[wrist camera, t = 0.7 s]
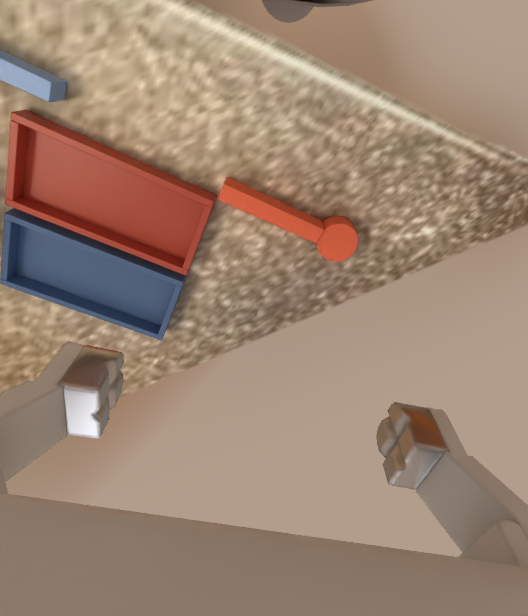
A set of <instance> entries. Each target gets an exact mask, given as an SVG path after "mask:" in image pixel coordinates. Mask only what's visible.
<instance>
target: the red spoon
mask: <svg viewBox="0 0 528 616" xmlns="http://www.w3.org/2000/svg"><path fill="white" fill-rule="evenodd" d="M218 200H220V201H222V202H225V203H227V204H229V205H231V206H234V207H236V208H238V209H240V210H243V211H245V212H247V213H249V214H252V215H254V216H256V217H258V218H261V219H263V220H265V221H267V222H270V223H272V224H274V225H276V226H278V227H281V228H283V229H285V230H287V231H290V232H292V233H294V234H296V235H299V236H301V237H303V238H305V239H308V240H310V241H312V242H314V243H317V247H318V250H319V252H320V254H321V255H322V256H323V257H324V258H326V259H328V260H330V261H342V260H345V259H347V258H349V257H350V256H351V255H352V254H353V253H354V252H355V250H356V249H357V246H358V235H357V232H356V230H355V229H354V227H353V225H352V223H351V222H350V221H349V220H348V219H346V218H344V217H341V216H333V217H329V218H327V219H325V220H324V221H323V222H322V221H321V220H320V219H317V218H315V217H313V216H311V215H309V214H307V213H304V212H302V211H300V210H298V209H296V208H294V207H291V206H289V205H287V204H285V203H283V202H281V201H278V200H276V199H274V198H272V197H270V196H268V195H265V194H263V193H261V192H259V191H257V190H255V189H252V188H250V187H248V186H246V185H244V184H242V183H239V182H237V181H235V180H233V179H231V178H229V177H227V178H226V180H225V182H224V184H223V187H222V190H221V192H220V195H219V197H218Z"/></svg>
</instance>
